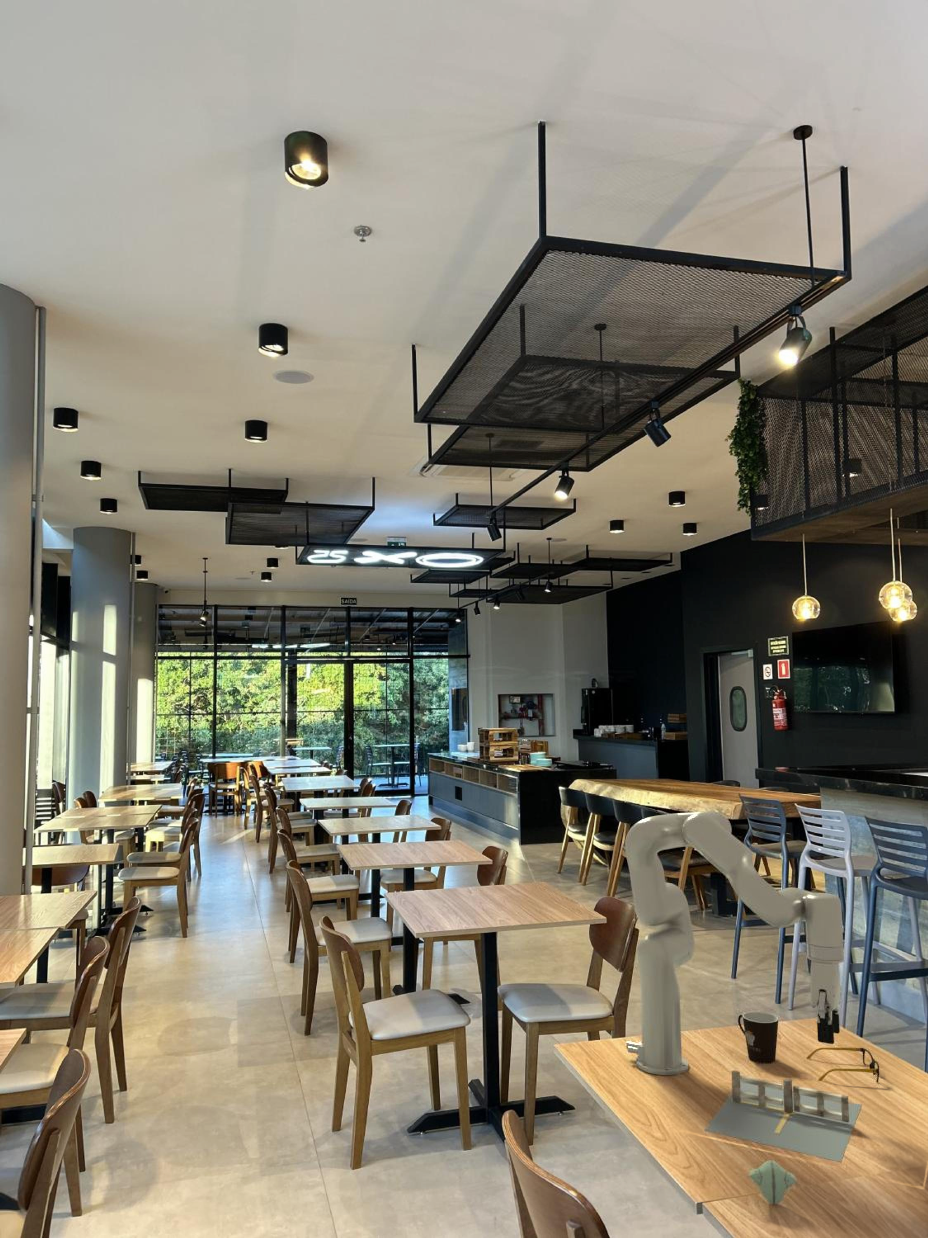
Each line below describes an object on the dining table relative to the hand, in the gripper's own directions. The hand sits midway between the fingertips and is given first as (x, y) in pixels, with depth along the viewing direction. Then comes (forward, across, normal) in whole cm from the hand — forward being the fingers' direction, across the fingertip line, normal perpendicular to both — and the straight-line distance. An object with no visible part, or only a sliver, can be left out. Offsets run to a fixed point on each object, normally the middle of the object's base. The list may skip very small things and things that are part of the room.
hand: (828, 1036), depth 193 cm
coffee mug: (+16, -26, -21) cm, 37 cm away
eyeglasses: (+16, -27, -2) cm, 31 cm away
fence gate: (+15, +5, -1) cm, 16 cm away
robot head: (+16, +44, -3) cm, 47 cm away
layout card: (+16, +8, -8) cm, 19 cm away
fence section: (+15, +5, -13) cm, 21 cm away
